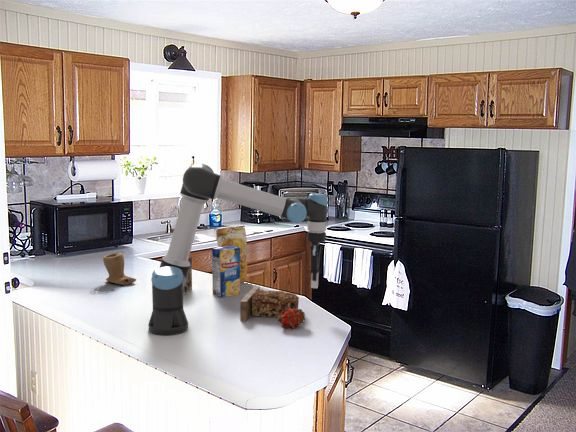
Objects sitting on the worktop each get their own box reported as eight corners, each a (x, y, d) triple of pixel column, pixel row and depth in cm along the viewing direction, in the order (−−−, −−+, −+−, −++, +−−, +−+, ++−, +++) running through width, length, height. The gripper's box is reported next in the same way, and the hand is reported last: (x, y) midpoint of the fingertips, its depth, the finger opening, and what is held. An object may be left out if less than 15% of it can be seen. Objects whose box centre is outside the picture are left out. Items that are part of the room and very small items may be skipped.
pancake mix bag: (212, 283, 308) (212, 228, 304) (244, 278, 320) (244, 224, 316) (220, 286, 303) (219, 230, 299) (252, 280, 315) (252, 226, 311)
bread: (250, 317, 256) (250, 293, 254) (256, 309, 266) (256, 287, 265) (295, 319, 253) (295, 296, 251) (299, 312, 263) (299, 289, 262)
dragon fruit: (307, 329, 246) (280, 337, 241) (298, 312, 251) (271, 320, 246) (311, 316, 240) (284, 325, 235) (302, 299, 245) (274, 307, 240)
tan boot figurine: (99, 282, 309) (98, 253, 307) (120, 278, 317) (119, 249, 315) (115, 288, 298) (114, 257, 296) (137, 283, 307) (136, 254, 305)
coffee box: (185, 295, 287) (185, 261, 285) (172, 294, 289) (172, 260, 286) (192, 289, 296) (192, 257, 294) (180, 289, 298) (179, 256, 295)
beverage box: (212, 294, 289) (212, 248, 286) (232, 290, 296) (231, 245, 293) (220, 297, 284) (220, 250, 281) (240, 293, 291) (240, 247, 287)
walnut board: (246, 320, 250) (246, 301, 249) (240, 320, 251) (240, 301, 250) (259, 304, 274) (259, 286, 273) (254, 303, 274) (254, 286, 273)
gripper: (323, 234, 245) (321, 292, 249) (327, 229, 258) (325, 284, 261) (305, 233, 246) (302, 290, 250) (310, 228, 259) (307, 283, 263)
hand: (314, 287), depth 256 cm, fingers closed
